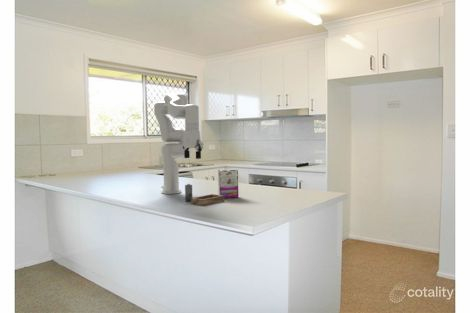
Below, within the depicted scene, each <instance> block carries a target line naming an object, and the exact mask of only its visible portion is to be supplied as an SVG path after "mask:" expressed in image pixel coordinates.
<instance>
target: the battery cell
mask: <svg viewBox="0 0 470 313" xmlns="http://www.w3.org/2000/svg"><path fill="white" fill-rule="evenodd" d="M184 192H185V193H184V195H185V196H184V197H185V198H184V200H185V203H191V198H193V184H190V183H187V184H185V185H184Z"/></svg>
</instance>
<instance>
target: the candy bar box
mask: <svg viewBox="0 0 470 313" xmlns="http://www.w3.org/2000/svg"><path fill="white" fill-rule="evenodd" d="M217 179H218V180H217V181H218V184H217V185H218V195H223V196H224V199H232V198H233V199H235V198H239V170H238V169H237V168H236V169H235V168H232V169H218V170H217Z"/></svg>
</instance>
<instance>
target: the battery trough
mask: <svg viewBox="0 0 470 313" xmlns="http://www.w3.org/2000/svg"><path fill="white" fill-rule="evenodd" d="M224 201H225V198H224V196H223V195H219V194H214V193H211V194H210V193H209V194H206V195H201V196H196V197H192V198H191V202H190V203H191V204H192V205H197V206H203V207H204V206H208V205H213V204H218V203H221V202H224Z"/></svg>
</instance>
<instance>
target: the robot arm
mask: <svg viewBox="0 0 470 313" xmlns="http://www.w3.org/2000/svg"><path fill="white" fill-rule="evenodd" d="M153 108H154V109H153V110H154V116H155V118H156V121H157V124H158V125H159V133H160V137H161V142H163V143H165V144H163V145H162V146H161V149H160V150H161V155H162V164H163V166H162V168H163V170H162V172H163V185H162V186H161V187H160V188H161V189H162V190H161V194H163V195H173V194H174V195H175V194H180V193H182V190H181V189H180V182H179V181H180V180H179V178H180V177H179V175H180V174H179V173H180V172H179V163H178V162H177V160H176V159H190V149H195V159H196V160H200V159H202V151H203V148H204V142H202V140H201V132H200V113H199V112H200V111H199V110H200V109H199V106H198V105H197V104H189V100H188V97H187V95H186V94H184V93H177V92H170V93H169V92H168V93H166V94H165V95H164V97H163V101H157V102H155V104H154V107H153ZM167 115H169V116H170V117H171V118H173V119H177V120H178V119H179V120H181V119H182V120H184V128H185V129H182V128H178V127H177V128H176V127H175V128H174V126H173V122H172V120H171V118H169V117H168V116H167Z"/></svg>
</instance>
